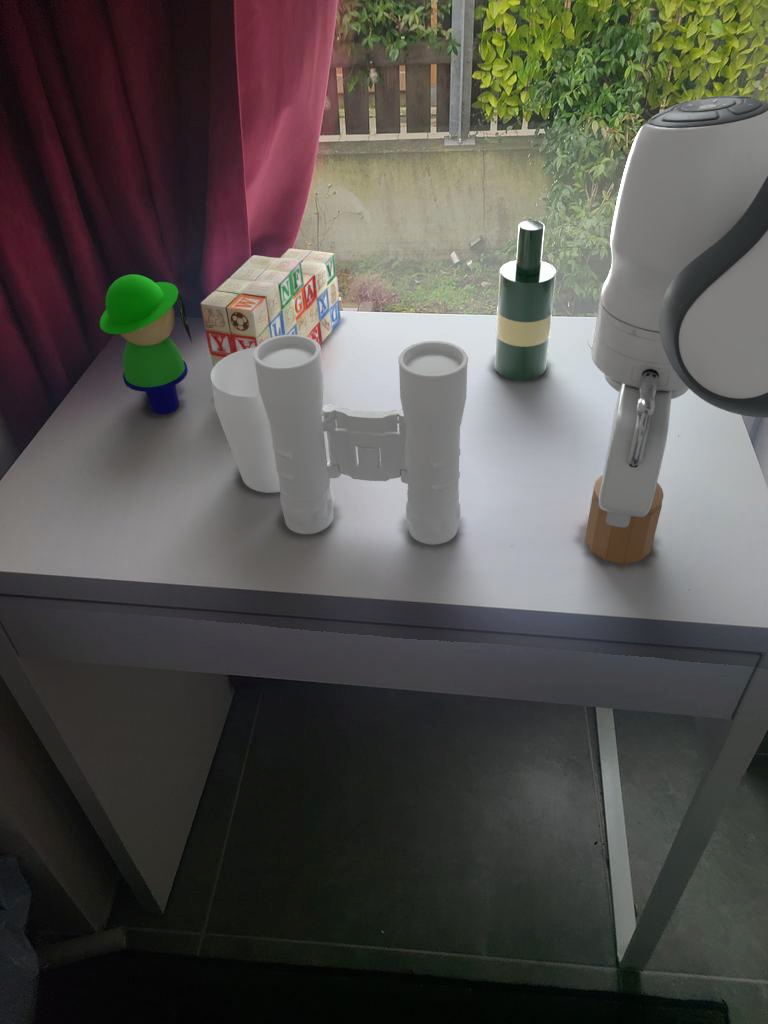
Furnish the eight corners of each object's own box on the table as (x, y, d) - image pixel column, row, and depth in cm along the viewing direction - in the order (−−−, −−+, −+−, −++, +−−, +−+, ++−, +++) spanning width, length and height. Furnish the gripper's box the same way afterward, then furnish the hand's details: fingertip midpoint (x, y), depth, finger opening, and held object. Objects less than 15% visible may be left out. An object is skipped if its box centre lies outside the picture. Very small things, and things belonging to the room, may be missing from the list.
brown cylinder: (653, 526, 74) (665, 475, 70) (648, 569, 70) (661, 517, 66) (589, 515, 76) (598, 464, 72) (581, 557, 72) (590, 505, 68)
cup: (299, 437, 87) (286, 336, 79) (333, 484, 81) (322, 380, 73) (218, 462, 84) (196, 361, 76) (247, 513, 78) (226, 408, 70)
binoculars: (465, 511, 77) (471, 342, 65) (459, 551, 73) (465, 378, 61) (288, 497, 79) (263, 332, 67) (274, 535, 75) (244, 367, 63)
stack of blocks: (298, 314, 108) (287, 223, 99) (341, 321, 106) (334, 228, 98) (218, 401, 93) (198, 301, 85) (268, 410, 91) (252, 309, 83)
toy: (208, 411, 91) (181, 286, 81) (130, 430, 89) (92, 304, 79) (192, 373, 98) (165, 252, 88) (119, 389, 95) (83, 268, 85)
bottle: (550, 357, 97) (565, 216, 86) (541, 384, 93) (556, 239, 81) (499, 351, 99) (508, 211, 87) (488, 377, 94) (496, 234, 83)
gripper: (696, 426, 51) (653, 578, 61) (704, 283, 66) (668, 423, 75) (594, 411, 53) (567, 561, 62) (624, 274, 67) (598, 412, 77)
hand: (622, 484), depth 69 cm, fingers open, 8 cm apart
